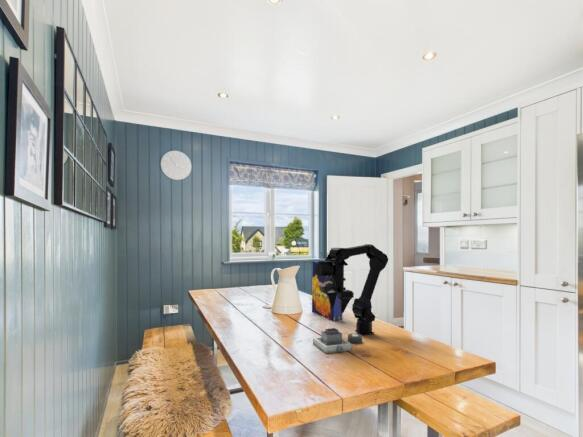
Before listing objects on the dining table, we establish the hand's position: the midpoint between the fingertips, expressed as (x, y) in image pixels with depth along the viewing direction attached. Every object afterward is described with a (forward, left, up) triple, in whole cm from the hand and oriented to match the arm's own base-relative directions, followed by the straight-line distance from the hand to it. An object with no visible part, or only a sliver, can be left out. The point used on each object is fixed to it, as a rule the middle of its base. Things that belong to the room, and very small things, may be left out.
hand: (337, 310), depth 146 cm
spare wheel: (-5, +7, -12) cm, 15 cm away
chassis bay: (+8, +10, -12) cm, 18 cm away
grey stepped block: (+8, +10, -11) cm, 17 cm away
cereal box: (-13, -35, -12) cm, 39 cm away
